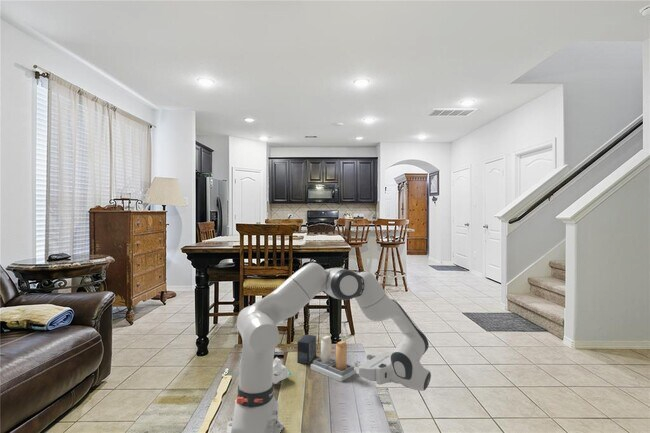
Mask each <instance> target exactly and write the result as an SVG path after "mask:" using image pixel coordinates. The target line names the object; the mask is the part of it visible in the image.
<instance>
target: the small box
mask: <svg viewBox="0 0 650 433" xmlns="http://www.w3.org/2000/svg"><path fill="white" fill-rule="evenodd" d="M296 355H297V357H296V358H297V363H298V364H304V365H311V364H312V363H313V360H315V358H316V357H317V335H314V334H313V335H312V334H304V335H303V336H302V337H301V338H300V339H299V340H298V341H297V354H296ZM311 362H312V363H311Z"/></svg>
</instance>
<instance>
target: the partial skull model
mask: <svg viewBox="0 0 650 433" xmlns="http://www.w3.org/2000/svg"><path fill="white" fill-rule="evenodd" d="M291 375H292V373H291V371H290V370H288V369H287V368H286V366H285V365H284V364H283V362H282V360H281V359H280V358H279V357H278V356H276V357H275V358H273V384H274V385H277V384H278V383H279V382H280V381H283V380H286V379H287V378H288V377H290V376H291Z"/></svg>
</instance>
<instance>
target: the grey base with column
mask: <svg viewBox="0 0 650 433" xmlns="http://www.w3.org/2000/svg"><path fill="white" fill-rule="evenodd" d="M310 370H312V371H315V372H317V373H318V374H322V375H324V376H327V377H328V378H331V379H333V380H335V381H338V382H343V381H345V380H347V379H348V378H350V377H352V376H354V375H356V374H357V368H355V365H352V364H349V363H347V362H346V369H345V370H343V371H340V370H338V369H336V358H333V357H332V339H331V336H330V335H328V334H327V335H325V336H322V337H321V339H320V357H317V358H316V359H313V360H312V363H310Z"/></svg>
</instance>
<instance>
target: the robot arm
mask: <svg viewBox="0 0 650 433" xmlns="http://www.w3.org/2000/svg"><path fill="white" fill-rule="evenodd" d="M320 293H324V294H325V295H327V296H330V297H331V298H333V299H337V300H341V301H349V300H353V299H354V300H356V302H357V304H358V306H359V308H360V310H361V311H362V314H363V315H364V316H365V317H366V318H367V319H368V320H369V321H373V322H382V321H387V320H389V319H391V320H392V321H393V323H395V325H396V326H397V328H398V329H399V330H400V331H401V333H402V335H401V336H402V337H401V340H400V341H399V343H398V344H397V345H396V346H395V348H394V350H393V351H392V353H391V354H390V353H388V352H380V353H379V354H367V356H366V360H367V361H366V362H364V363H361V361H357V360H356V361H355V362H354V368H355V367H356V368H358V375H359V376H360V377H361V378H362V379H364V380H367V381H371V382H376V384H378V385H384V384H387V383H388V384H389V383H393V384H400V385H401V386H403V387H405V388H407V389H410V390H414V391H417V392H418V391H419V392H420V391H421V392H423V391H426V389H427V388H428V387H429V385H430V382H431V377H432V373H431V371H430V370H429V369H426V368H425V367H424V366H423V365H422V363H421V362H420V361H421V359H422V357H423V355H425V353H426V352H427V351H428V350H429V341H428V338H427V336H426V335H425V334H424V333H423V332H422V331H421V330H420V329H419V328H418V327H417V325H416V324H415V323H414V322H413V320H412V319H411V318H410V316H409V315H408V314H407V312H406V311H405V310H404V309H403V307H402V306H401V304H399V303H398V302H397V301H396V300H394V299H392V298H390V297H389V296H388V295H387V293H386V292H385V290H384V288H383V287H382V285H381V283H380V282H379V281H378V280H377V278H376V277H375V276H374V275H373V274H372V273H371V272H370V271H360V272H358V273H356V272H354V271H353V270H350V269H348V268H347V269H346V268H344V267H328V268H324V267H323V266H322V265H321V264H319V263H316V262H309V263H307V264H305V265H304V266H302V267H301V268H299V269H298V270H296V271H295V272H294V273H293V274H291V275H290V276H289V277H288V278H287V279H286V280H284V282H282V283H281V284H280V285H278V287H276V288H275V289H274V290H273V291H271V293H269V294H268V295H266V296H264V297H263V298H261V299H260V300H258V301H256V302H254V303H253V304H252V305H249V306H246V307H244V308H243V309H241V310H240V311H239V313H238V315H237V317H236V328H237V331H238V333H239V335H240V336H241V340H242V352H241V357H240V358H241V359H240V360H239V368H238V369H239V370H238V371H239V373H238V375H239V376H238V378H239V380H238V381H239V382H238V385H237V391H236V399H235V400H234V410H233V416H231V417H230V421H228V422H227V426H226V432H225V433H280V432H281V433H282V431H283V429H284V423H283V422H282V421H281V420H279V419H280V418H279V402H278V400H277V399H276V398H275V396H274V395H275V386H274V385H275V384H274V383H273V360H274V359H275V358H274V357H275V353H276V348H277V346H278V344H279V341H280V332H279V330H278V329H279V328H278V326H277V325H279V323H282V321H283V322H284V320H286V319H289V318H292V317H294V316H296V315H297V314H298V313H299V312H300V311H301V310H303V308H304V307H306V305H307V304H308V303H309V302H310V301H311V300H313V299H314V298H315V297H316V296H317V295H318V294H320ZM281 430H282V431H281Z"/></svg>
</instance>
